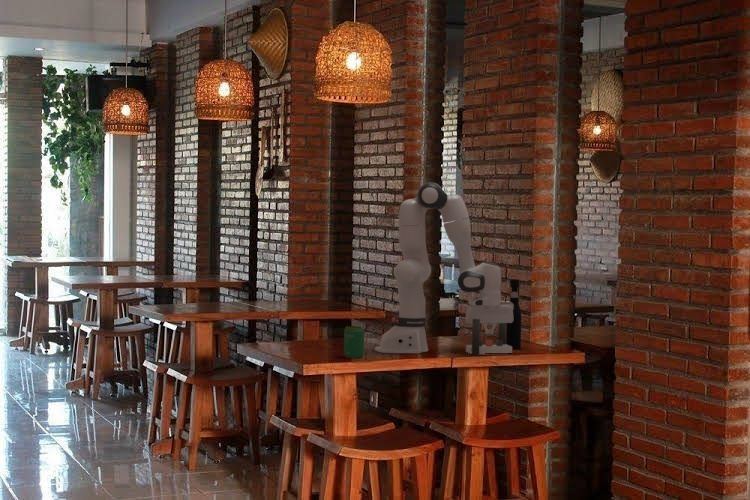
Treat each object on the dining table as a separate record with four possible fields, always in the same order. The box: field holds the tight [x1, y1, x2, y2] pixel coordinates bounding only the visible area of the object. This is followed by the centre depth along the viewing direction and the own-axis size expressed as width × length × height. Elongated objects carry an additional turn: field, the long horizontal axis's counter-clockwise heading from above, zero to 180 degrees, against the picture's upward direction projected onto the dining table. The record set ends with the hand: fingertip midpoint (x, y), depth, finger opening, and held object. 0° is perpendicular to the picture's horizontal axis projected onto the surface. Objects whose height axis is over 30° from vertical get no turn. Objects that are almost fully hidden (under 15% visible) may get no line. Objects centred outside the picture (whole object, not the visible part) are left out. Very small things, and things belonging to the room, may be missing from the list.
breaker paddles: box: [479, 339, 503, 346], centre depth 444 cm, size 11×1×2 cm, turn 102°
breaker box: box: [465, 344, 513, 355], centre depth 444 cm, size 18×7×3 cm, turn 102°
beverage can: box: [343, 325, 365, 359], centre depth 425 cm, size 8×8×12 cm
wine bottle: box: [505, 278, 522, 350], centre depth 458 cm, size 6×6×30 cm
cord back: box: [497, 323, 506, 345], centre depth 452 cm, size 3×3×15 cm
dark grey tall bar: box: [471, 319, 481, 356], centre depth 436 cm, size 3×3×15 cm
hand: (489, 333), depth 444 cm, fingers closed
